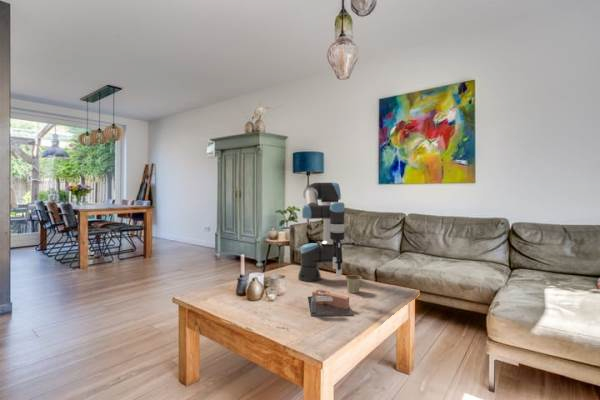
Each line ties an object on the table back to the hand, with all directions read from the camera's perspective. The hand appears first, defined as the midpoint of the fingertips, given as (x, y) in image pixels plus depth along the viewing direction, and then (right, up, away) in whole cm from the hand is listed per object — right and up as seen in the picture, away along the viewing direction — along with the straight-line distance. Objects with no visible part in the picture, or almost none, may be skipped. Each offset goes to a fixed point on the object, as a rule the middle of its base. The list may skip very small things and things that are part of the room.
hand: (337, 272), depth 164 cm
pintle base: (-5, -16, -5) cm, 18 cm away
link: (-4, -15, -4) cm, 16 cm away
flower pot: (+12, -16, +18) cm, 27 cm away
